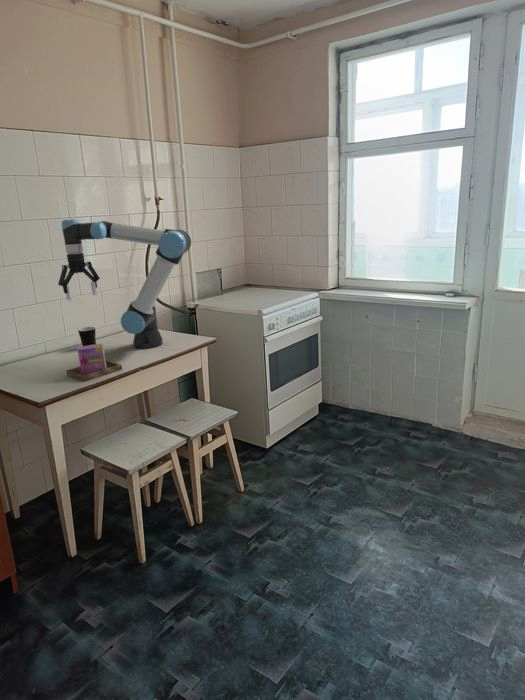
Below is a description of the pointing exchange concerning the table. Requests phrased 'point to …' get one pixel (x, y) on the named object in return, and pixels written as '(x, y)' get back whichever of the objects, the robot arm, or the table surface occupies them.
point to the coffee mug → (87, 335)
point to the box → (91, 358)
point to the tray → (110, 368)
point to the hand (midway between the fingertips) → (82, 297)
